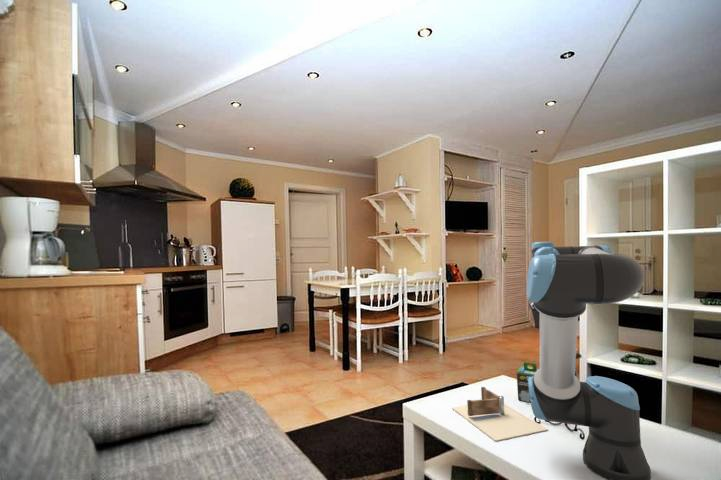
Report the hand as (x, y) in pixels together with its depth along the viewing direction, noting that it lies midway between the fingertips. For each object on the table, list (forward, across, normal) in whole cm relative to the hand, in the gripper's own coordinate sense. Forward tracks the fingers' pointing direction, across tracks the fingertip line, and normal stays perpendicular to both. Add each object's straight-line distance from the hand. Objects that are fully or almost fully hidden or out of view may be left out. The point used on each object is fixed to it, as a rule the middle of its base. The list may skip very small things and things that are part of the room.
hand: (547, 348), depth 128 cm
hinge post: (+24, +16, -6) cm, 30 cm away
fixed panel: (+24, +16, -12) cm, 32 cm away
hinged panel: (+23, +23, -7) cm, 34 cm away
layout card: (+24, +20, -4) cm, 32 cm away
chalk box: (+25, -5, -14) cm, 29 cm away
